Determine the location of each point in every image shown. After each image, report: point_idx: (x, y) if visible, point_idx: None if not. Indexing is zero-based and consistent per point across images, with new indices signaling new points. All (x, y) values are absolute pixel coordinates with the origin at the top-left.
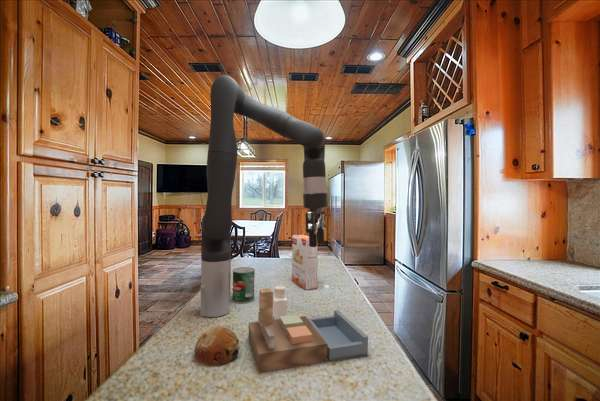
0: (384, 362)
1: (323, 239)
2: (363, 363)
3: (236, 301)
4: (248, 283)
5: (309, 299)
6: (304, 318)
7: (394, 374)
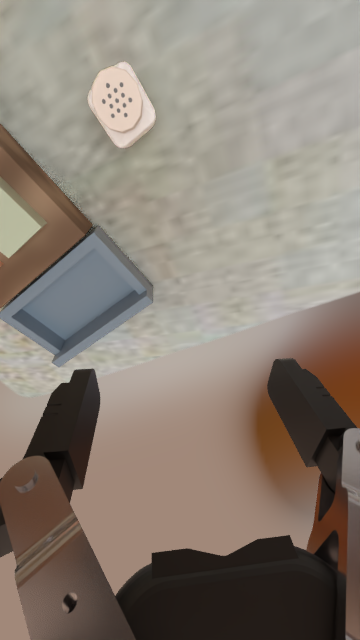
0: None
1: (276, 406)
2: None
3: None
4: None
5: (303, 168)
6: (69, 237)
7: (41, 375)
